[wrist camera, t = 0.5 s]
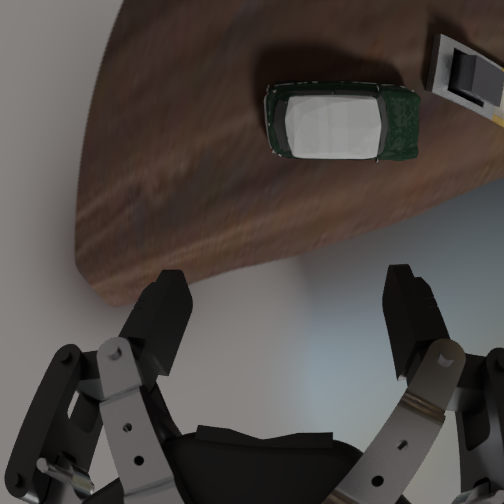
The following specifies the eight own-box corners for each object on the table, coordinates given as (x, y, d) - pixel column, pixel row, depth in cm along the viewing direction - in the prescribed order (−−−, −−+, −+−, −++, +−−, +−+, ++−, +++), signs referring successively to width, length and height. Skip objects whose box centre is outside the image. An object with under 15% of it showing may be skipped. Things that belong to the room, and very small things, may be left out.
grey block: (450, 54, 23) (477, 55, 18) (477, 68, 23) (505, 73, 17) (445, 85, 26) (471, 91, 20) (472, 98, 25) (499, 107, 20)
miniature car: (408, 154, 32) (433, 176, 26) (269, 152, 35) (263, 174, 29) (411, 86, 27) (439, 92, 21) (262, 82, 30) (254, 85, 24)
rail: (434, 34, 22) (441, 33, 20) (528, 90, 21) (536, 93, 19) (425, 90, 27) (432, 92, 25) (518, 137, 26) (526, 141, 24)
